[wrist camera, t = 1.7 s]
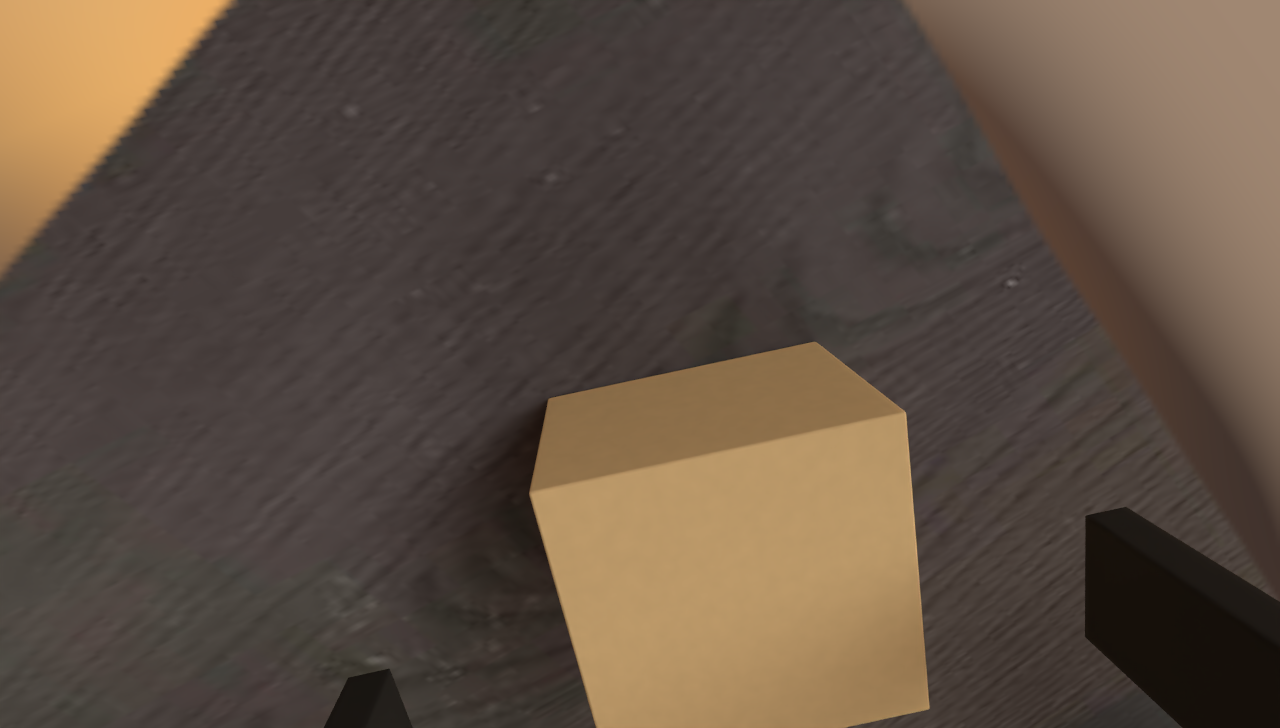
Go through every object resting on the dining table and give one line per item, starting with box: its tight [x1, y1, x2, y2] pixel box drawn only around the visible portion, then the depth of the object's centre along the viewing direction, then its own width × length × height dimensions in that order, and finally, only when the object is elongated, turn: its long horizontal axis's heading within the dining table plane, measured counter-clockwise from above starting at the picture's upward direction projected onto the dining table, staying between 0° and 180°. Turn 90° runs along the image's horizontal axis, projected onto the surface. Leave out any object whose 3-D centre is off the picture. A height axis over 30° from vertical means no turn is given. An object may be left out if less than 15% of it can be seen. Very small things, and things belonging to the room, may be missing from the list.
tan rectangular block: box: [529, 342, 929, 728], centre depth 15 cm, size 7×7×5 cm
